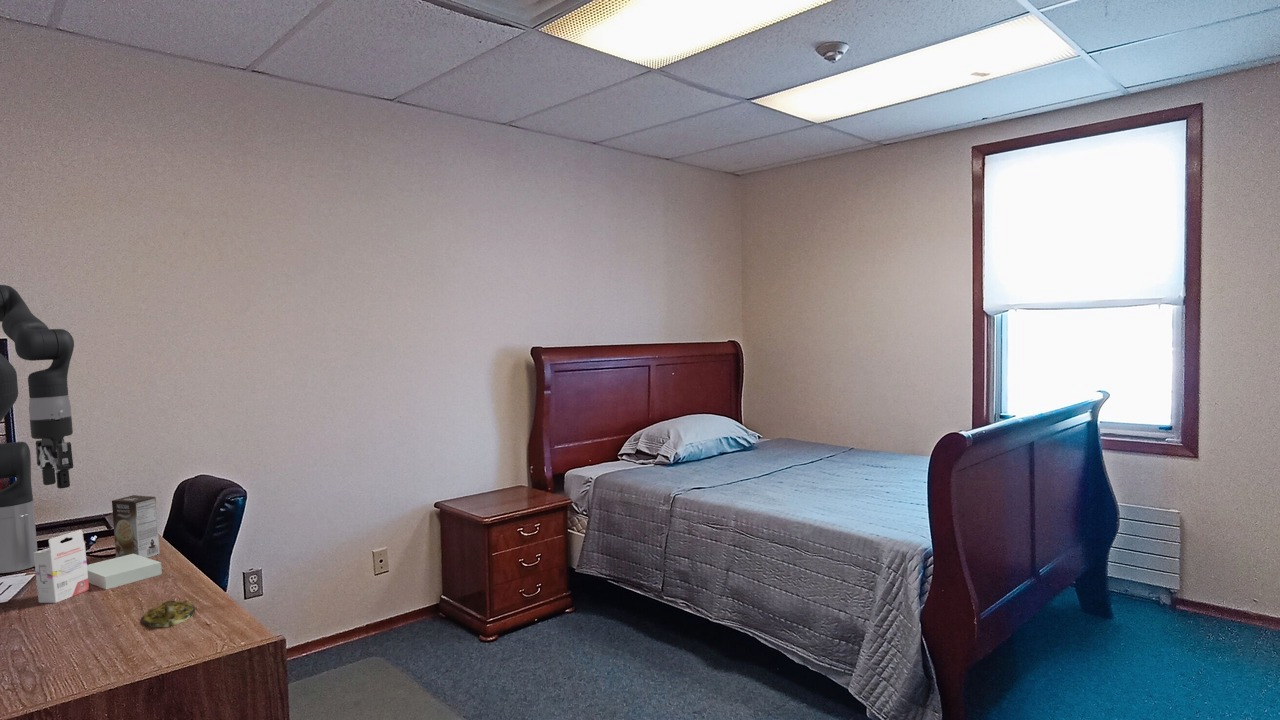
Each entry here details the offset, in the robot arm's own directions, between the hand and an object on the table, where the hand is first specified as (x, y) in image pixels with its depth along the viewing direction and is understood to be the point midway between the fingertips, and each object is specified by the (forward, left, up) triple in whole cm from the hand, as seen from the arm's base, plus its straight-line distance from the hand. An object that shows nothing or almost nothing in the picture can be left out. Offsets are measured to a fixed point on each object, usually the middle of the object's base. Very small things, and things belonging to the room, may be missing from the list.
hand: (56, 486), depth 171 cm
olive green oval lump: (+37, +7, -26) cm, 46 cm away
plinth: (-4, +13, -26) cm, 29 cm away
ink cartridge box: (0, 0, -26) cm, 26 cm away
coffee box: (-20, +23, -26) cm, 40 cm away
